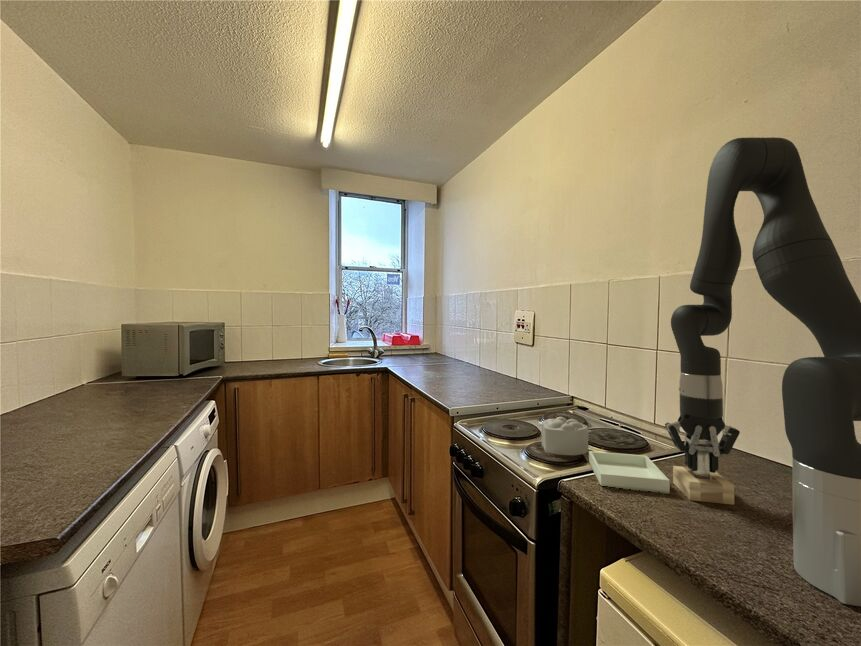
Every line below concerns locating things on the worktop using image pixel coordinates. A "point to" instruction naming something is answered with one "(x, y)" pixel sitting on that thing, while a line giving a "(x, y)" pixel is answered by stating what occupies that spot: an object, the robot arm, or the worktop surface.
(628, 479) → the parts tray
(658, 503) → the worktop surface
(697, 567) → the worktop surface
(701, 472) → the pin
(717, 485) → the frame
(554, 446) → the lumpy-topped squat cylinder
